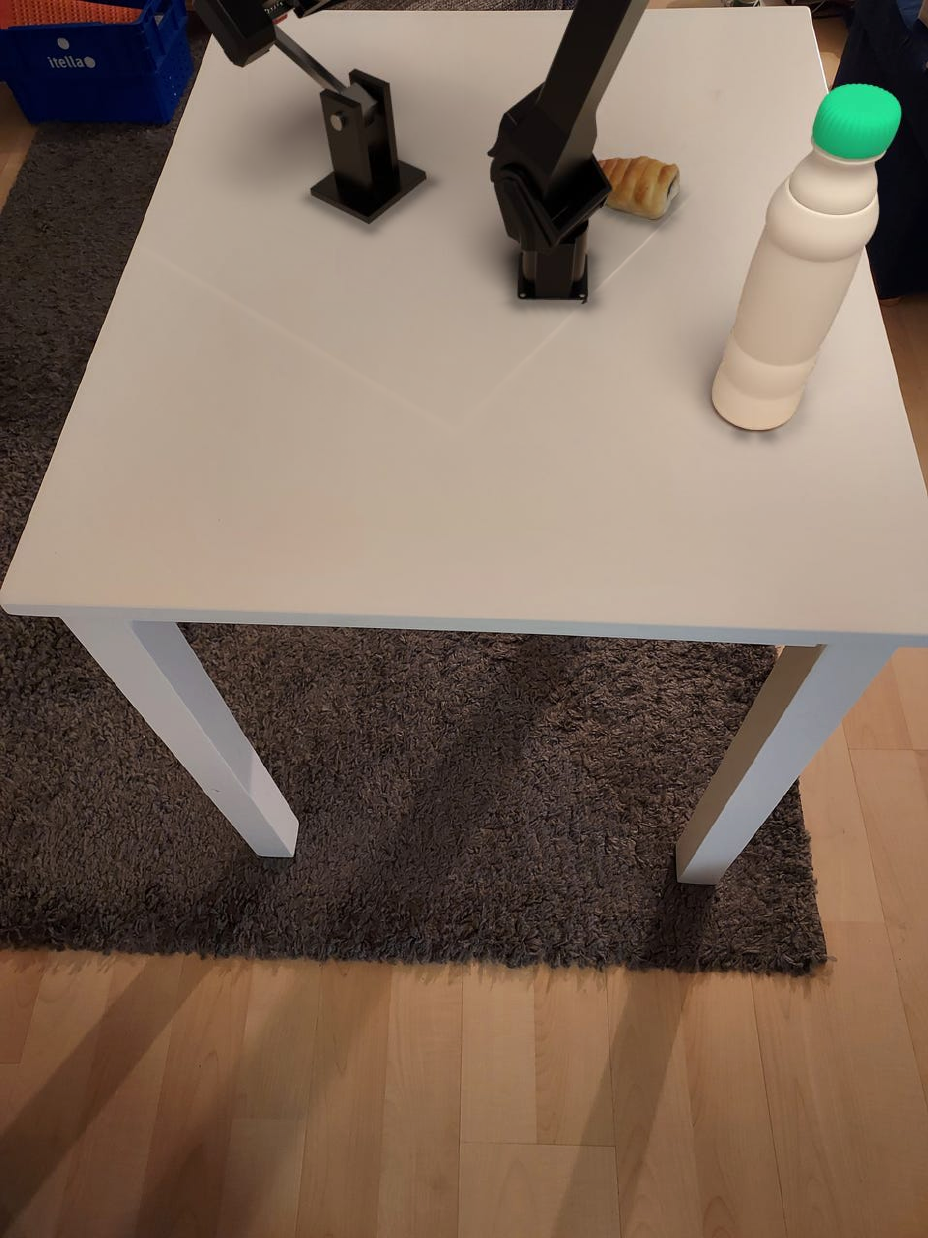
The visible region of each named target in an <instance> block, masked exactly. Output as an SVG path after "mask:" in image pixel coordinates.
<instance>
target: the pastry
mask: <svg viewBox="0 0 928 1238" xmlns="http://www.w3.org/2000/svg"><path fill="white" fill-rule="evenodd" d="M597 161H598V163H599V164H600V166H601V168H602V170H603V171H604V173H605V175H606V177H607V178H608V180H609V182H610V184H611V186H612V188H613V190H612V192H611V194H610V196H609V198H608V200H607V202H606V204H605V205H607V206H608V207H609V208H610V209H612V210H618V211H622V212H626V213H628V214H630V215H633V216H636V217H641V218H647V219H649V220H656V219H657V220H658V219H660V218H661V217H662V216H663V215H664V214H666V213H667V210H668V208H669V207H670V205H671V201H672V200H673V199H675V198H676V196H677V195H678V193H679V191H680V187H681V184H680V180H681V179H680V178H681V177H680V176H681V174H680V168H679V167H678V165H677V164H676V163H671V164H668V163H666V162H663V161H661V160H658V159H656V158H650V157H649V156H647V155H639V156H638V157H634V158H633V157H628V158H623V157H614V158H608V159H599V160H597Z"/></svg>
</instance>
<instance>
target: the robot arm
mask: <svg viewBox="0 0 928 1238" xmlns="http://www.w3.org/2000/svg"><path fill="white" fill-rule="evenodd" d="M650 1H651V0H576V3H575V5H574V7H573V10H572V12H571V14H570V16H569V20H568V22H567V25H566V27H565V29H564V32H563V34H562V37H561V40H560V41H559V45H558V47H557V49H556V52H555V55H554V57H553V60H552V62H551V65H550V67H549V69H548V72H547V74H546V77H545V78H544V79H545V80H544V81H542V82H541V83H540V84H539V85H537V87H535V88H534V89H532V90H531V91H530V92H529V93H527V94H526V95H525V96H524V97H523V98H521V99H520V100H519V101H518V102H516V103H515V104H514V105H512V106H511V107H510V108H509V109H507V110H506V111H505V112H504V113H503V114H502V116H501V119H500V122H499V124H498V130H497V135H496V139H495V142H494V144H493V146H492V148H490V149H489V150H488V151H487V152H486V155H487V156H488V157H489V158H492V160H491V163H490V168H489V179H490V182H491V183H492V184H493V189H494V193H495V197H496V201H497V204H498V207H499V211H500V215H501V218H502V221H503V225H504V229H505V232H506V235H507V237H508V238H510V239H513V240H514V241H516V242H517V244H518V245H519V247H520V250H521V252H519V254H518V268H517V269H518V271H517V273H518V274H517V294H516V296H517V298H518V299H519V300H522V301H524V300H525V301H526V300H529V301H534V300H535V301H582V302H581V304H582V303H586V302H587V301H588V299H589V272H588V271H589V270H588V269H589V267H588V253H587V243H588V234H589V225H590V220H589V219H590V218H591V217H592V216H593V215H595V213H596V212H598V211H599V210H600V209H602V208H603V207H605V205H607V204H606V202H607V200H608V198H609V196H610V194H611V192H612V190H613V188H612V186H611V184H610V182H609V180H608V178H607V177H606V175H605V173H604V171H603V170H602V168H601V166H600V164H599V163H598V161H599V160H598V159H597V158H596V156H595V154H594V148H595V145H596V142H597V138H598V126H597V111H598V107H599V105H600V103H601V102H602V99H603V97H604V95H605V93H606V91H607V89H608V86H609V85H610V83H611V81H612V78H613V77H614V74H615V73H616V70H617V68H618V66H619V65H620V63H621V60H622V58H623V56H624V54H625V52H626V50H627V48H628V47H629V44H630V41H631V40H632V38H633V35H634V34H635V31H636V30H637V28H638V25H639V24H640V22H641V19H642V17H643V15H644V13H645V12H646V9H647V7H648V5H649V2H650ZM346 2H349V0H192V1H191V5H192V7H193V9H194V10H195V11H196V13H197V15H198V16H199V18H200V19H201V20H202V21H203V23H204V25H205V26H206V28H207V29H208V30H209V31H210V33H211V34H212V36H213V37H214V39H215V40H216V41H217V43H218V44H219V46H220V47H221V49H222V50H223V54H224V55H225V56H226V58H227V59H228V60H229V62H230V63H232V64H233V65H234V66H235V67H239V68H242V69H243V68H245V67H247V66H248V65H250V64H252V63H254V62H255V61H257V60H259V59H260V58H262V57H263V56H265V55H266V54H267V53H270V51H271V49H272V47H273V46H275V45H274V43H275V41H276V40H277V37H276V32H275V28H274V23H273V22H274V21H276V20H278V19H279V18H281V17H282V16H284V15H286V14H289V13H290V12H293V13H294V15H295V16H296V18H297V19H299V20H301V19H304V18H307V17H310V16H311V15H314V14H317V13H319V12H323V11H325V10H327V9H330V8H332V7H335V6H338V5H341V4H343V3H346ZM522 295H523V296H522Z"/></svg>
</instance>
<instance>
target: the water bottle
mask: <svg viewBox="0 0 928 1238" xmlns="http://www.w3.org/2000/svg"><path fill="white" fill-rule="evenodd" d="M901 119H902V107H901V105H900V101H899V100H898V99H897V97H895V96H894V94H893V93H891V92H889V91H888V90H885V89H884V88H881V87H879V86H876V85H875V86H874V85H873V84H867V83H864V84H862V83H857V84H856V83H851V84H850V83H847V84H845V85H840V86H837V87H834V88H833V89H832V90H831V91H829V92H828V93H827V94H826V95H825V96H824V97H823V99H822V100H821V102H820V104H819V106H818V108H817V111H816V114H815V117H814V120H813V123H812V128H811V133H812V134H811V136H810V144H811V146H812V150H811V151H810V152H809V153H808V154H807V155H806V156H805V157H804V158H802V159H801V160H800V161H799V163H797V164H796V166H795V167H794V169H793V171H792V172H791V173H790V174H789V175H788V176H787V177H786V178H784V180H783V181H782V182H781V183H780V184H779V185H778V186H777V188H776V189H775V191H774V192H773V194H772V196H771V197H770V199H769V202H768V205H767V208H766V212H765V224H764V227H763V229H762V231H761V233H760V237H759V239H758V241H757V244H756V247H755V249H754V253H753V255H752V257H751V261H750V264H749V267H748V271H747V273H746V277H745V281H744V283H743V287H742V291H741V294H740V298H739V302H738V306H737V310H736V315H735V320H734V325H733V326H732V328H731V329H730V331H729V334H728V337H727V338H726V342H725V346H724V350H723V355H722V360H721V363H720V364H719V366H718V368H717V372H716V375H715V378H714V380H713V383H712V388H711V399H712V400H711V401H712V403H713V406H714V408H715V409H716V411H717V413H719V415H720V416H721V417H722V418H723V419H725V420H726V421H728V422H729V423H731V424H732V425H734V426H736V427H738V428H742V429H746V430H751V431H765V430H770V429H771V430H772V429H775V428H777V427H780V426H781V425H783V424H785V423H786V422H788V421H789V420H790V419H791V418H792V416H793V415H794V414H795V412H796V410H797V409H798V406H799V403H800V401H801V399H802V396H803V394H804V390H805V387H806V382H808V380H809V378H810V377H811V375H812V374H813V373H812V372H813V371H814V369H815V367H816V364H817V362H818V359H819V356H820V352H821V346H822V345H823V343H824V341H825V339H826V338H827V336H828V334H829V332H830V330H831V328H832V327H833V324H834V322H835V320H836V318H837V316H838V314H839V312H840V310H841V307H842V305H843V303H844V300H845V298H846V296H847V293H848V291H849V290H850V286H851V284H852V281H853V279H854V277H855V274H856V271H857V269H858V266H859V263H860V261H861V257H862V255H863V251H864V248H865V246H866V245H867V244H868V243H869V242H870V240H871V238H872V236H874V233H875V231H876V228H877V225H878V222H879V215H880V204H879V195H878V182H879V181H878V175H877V170H876V167H875V165H876V162H877V161H878V160H880V159H881V158H883V156H884V155H885V154H886V152H887V149H888V148H889V147H890V146H891V145H892V142H893V141H894V139H895V137H896V135H897V133H898V129H899V126H900V123H901Z"/></svg>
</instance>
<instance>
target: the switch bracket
mask: <svg viewBox="0 0 928 1238" xmlns="http://www.w3.org/2000/svg"><path fill="white" fill-rule="evenodd" d="M347 75H348V80H349V86H350V85H352V84H353V83H355V82H356V83H358V84H359V85H360V86H361V87H362V88H363V89H364V90H365V91H367V92H368V93H369V94H370V95H371V96H372V97H373V98H375V99H376V100H377V107H376V114H375V120H374V122H373V123H372V124H371V125H369V126H368V127H366V128H365V127H364V120H363V113H362V106H361V103H359V102H357V101H354V100H352V99H350V98H348V97H345V96H343V95H341V94H339V93H336V92H334V91H332V90H330V89H327V88H326V89H324V88H323V90H321V91H319V92H318V94H319V99H320V104H321V110H322V116H323V121H324V127H325V132H326V137H327V143H328V148H329V154H330V159H331V165H332V170H333V171H331V172H330V173H329V174H327V175H325V177H323V178H322V179H320V180H319V181H318V182H317V183H315V184H313V186H312V187H310V188H309V190H310V195H311V196H312V197H314V198H316V199H318V200H321V201H322V202H324V203H326V204H328V205H330V206H331V207H334V208H336V209H338V210H340V211H342V212H344V213H346V214H347V215H350V216H351V217H353V218H356V219H358V220H360V221H361V222H364V223H366V224H368V225H371V223H373V222H374V221H375V220H376V219H378V218H379V217H380V216H382V215H383V214H384V213H385V212H387V211H388V210H389V209H391V208H392V207H393V206H394V205H395V204H397V203H398V202H399V201H401V199H403V198H404V197H405V196H407V195H408V194H409V193H410V192H412V191H413V190H414V189H416V188H417V187H418V186H419V185H420V184H422V183H423V182H424V181H425V180H426V179H427V171H425V170H423V169H421V168H419V167H416V166H414V165H412V164H410V163H407V162H406V161H403V160H402V159H399V155H398V146H397V145H398V144H397V138H396V128H395V127H396V126H395V118H394V110H393V109H394V108H393V101H392V91H391V84H390V82H388V81H386V80H384V79H381V78H379V77H377V76H374V75H372V74H369V73H367V72H365V71H363V70H360V69H358V68H353V69H352V70H351V71H349V72H348V74H347Z"/></svg>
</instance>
